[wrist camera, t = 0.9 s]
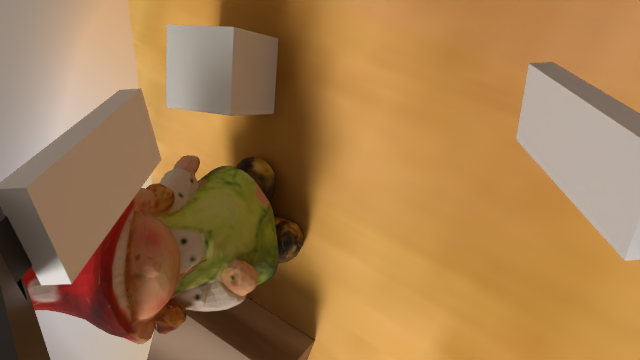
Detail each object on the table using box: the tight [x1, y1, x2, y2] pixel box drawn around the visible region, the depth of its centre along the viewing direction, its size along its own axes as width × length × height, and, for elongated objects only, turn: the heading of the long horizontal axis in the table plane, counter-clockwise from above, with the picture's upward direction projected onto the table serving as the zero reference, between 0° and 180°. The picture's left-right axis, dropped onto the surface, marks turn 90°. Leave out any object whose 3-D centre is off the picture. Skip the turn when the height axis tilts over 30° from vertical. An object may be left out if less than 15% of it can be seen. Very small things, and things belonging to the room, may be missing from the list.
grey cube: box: [166, 25, 279, 116], centre depth 34 cm, size 6×6×6 cm
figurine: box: [22, 156, 304, 344], centre depth 29 cm, size 11×9×20 cm
